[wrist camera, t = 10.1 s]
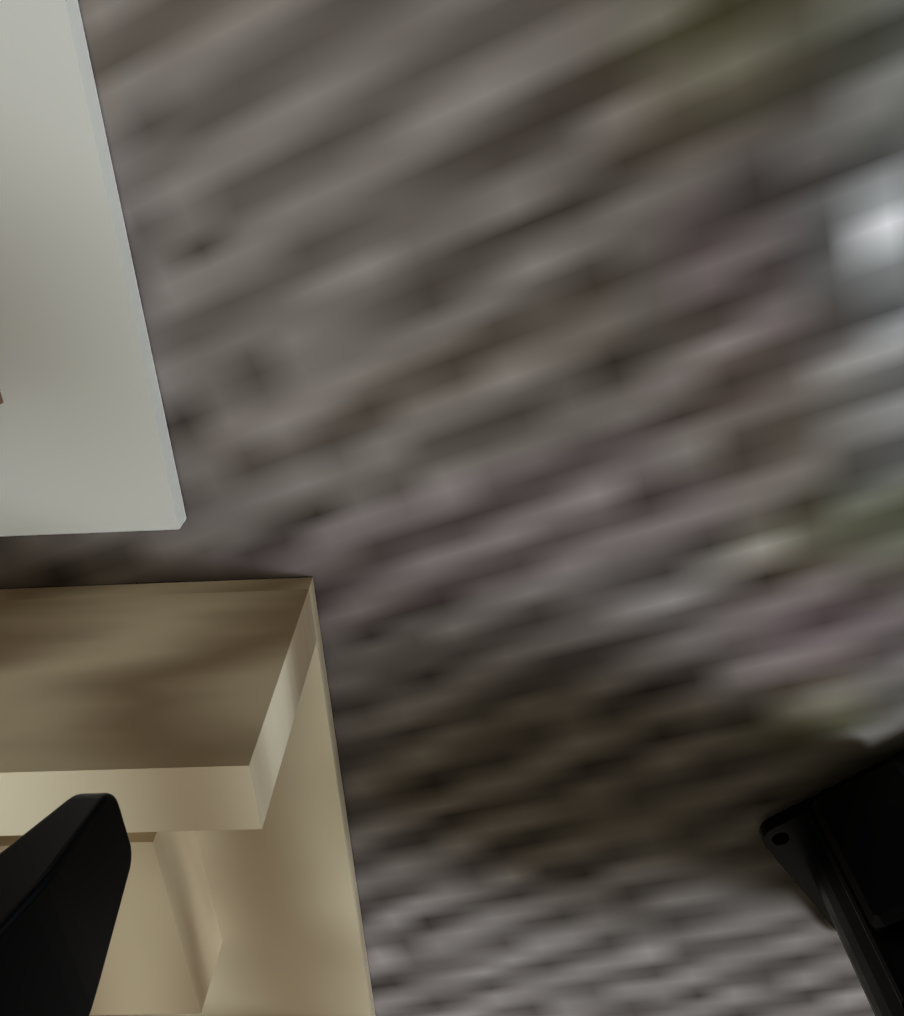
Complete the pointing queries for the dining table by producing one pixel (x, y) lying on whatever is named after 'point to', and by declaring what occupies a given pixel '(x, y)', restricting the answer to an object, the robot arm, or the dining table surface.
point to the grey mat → (70, 303)
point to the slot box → (194, 787)
